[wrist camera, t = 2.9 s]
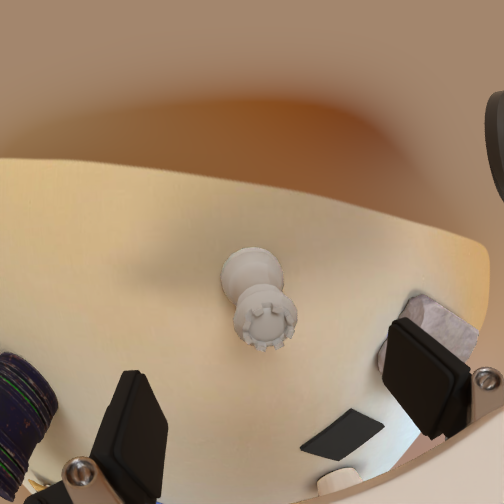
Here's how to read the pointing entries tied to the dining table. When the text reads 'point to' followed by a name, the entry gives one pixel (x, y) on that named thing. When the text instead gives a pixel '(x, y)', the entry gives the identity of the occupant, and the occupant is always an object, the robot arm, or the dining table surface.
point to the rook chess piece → (258, 298)
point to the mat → (343, 436)
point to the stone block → (438, 327)
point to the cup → (338, 481)
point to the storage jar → (21, 418)
